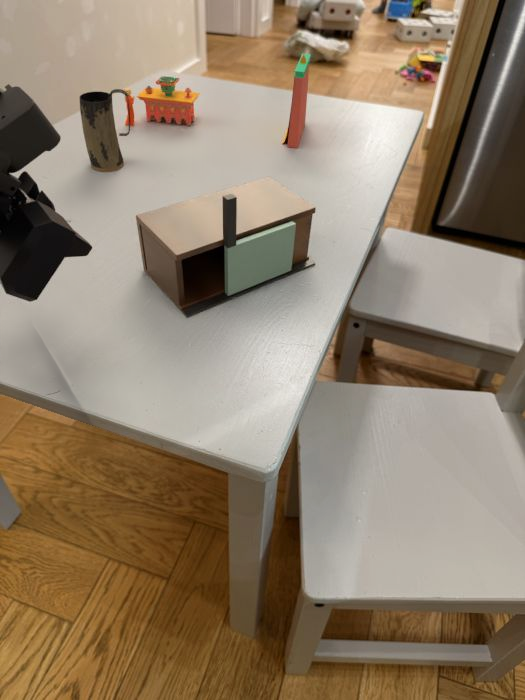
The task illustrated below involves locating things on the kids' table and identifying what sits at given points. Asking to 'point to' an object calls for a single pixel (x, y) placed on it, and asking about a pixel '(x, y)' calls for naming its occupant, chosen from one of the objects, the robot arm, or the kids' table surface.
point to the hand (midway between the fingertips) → (88, 249)
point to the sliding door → (254, 251)
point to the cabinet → (216, 240)
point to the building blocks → (181, 102)
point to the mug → (101, 130)
